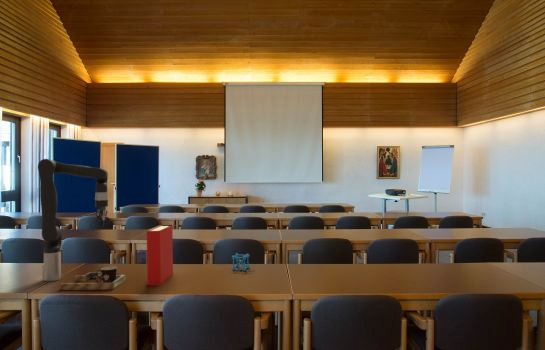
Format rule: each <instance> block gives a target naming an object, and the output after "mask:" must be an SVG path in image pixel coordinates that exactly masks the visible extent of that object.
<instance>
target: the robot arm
mask: <svg viewBox="0 0 545 350" xmlns="http://www.w3.org/2000/svg"><path fill="white" fill-rule="evenodd" d="M37 170H38V176H39V181H40V184H39V185H40V187H39V189H40V190H39V192H40V194H39V195H40V198H39V199H40V207H41V209H40V210H41V219H42V223H41V237H42V239H43V241H44V242H45V245H44V248H43V264H42V269H41V270H42V273H41V274H42V281H44V282H55V281H58V280H61V277H62V274H61V273H62V271H61V267H62V265H61V264H62V263H61V262H62V260H61V257H62V255H61V248H62V239H63V237H62V230H61V228H60V227H59V226H57V225H56V224H57V223H56V215H57V211H58V193H57V188H56V186H55V181H54V174H65V175H70V176H74V177H82V178H91V179H96V184H95V194H94V195H95V197H94V201H95V203H94V205H95V208H97V212H95V215H96V219H97V220H98V221H99V227H105V220H106V219H107V215H108V210H107V207H109V194H108V179H109V178H108V177H109V176H108V175H109V174H108V171H107V170H106V169H105V168H100V167H92V166H87V165H79V164H68V163H64V162H59V161H56V160H53V159H50V158H43V159H41V160H39V162H38V164H37Z"/></svg>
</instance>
